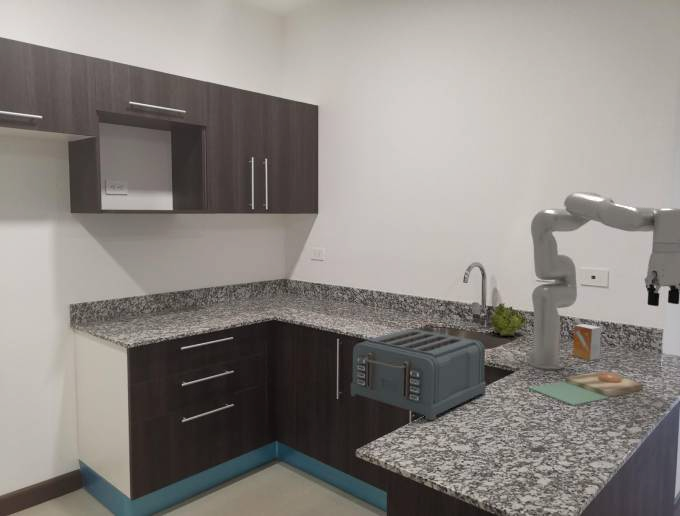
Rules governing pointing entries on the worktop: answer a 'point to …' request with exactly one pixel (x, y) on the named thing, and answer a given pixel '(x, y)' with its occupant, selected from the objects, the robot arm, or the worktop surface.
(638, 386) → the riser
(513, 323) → the lettuce head
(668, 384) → the worktop surface
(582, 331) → the small box
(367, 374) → the toaster
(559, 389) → the mat
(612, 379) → the brown round disc
